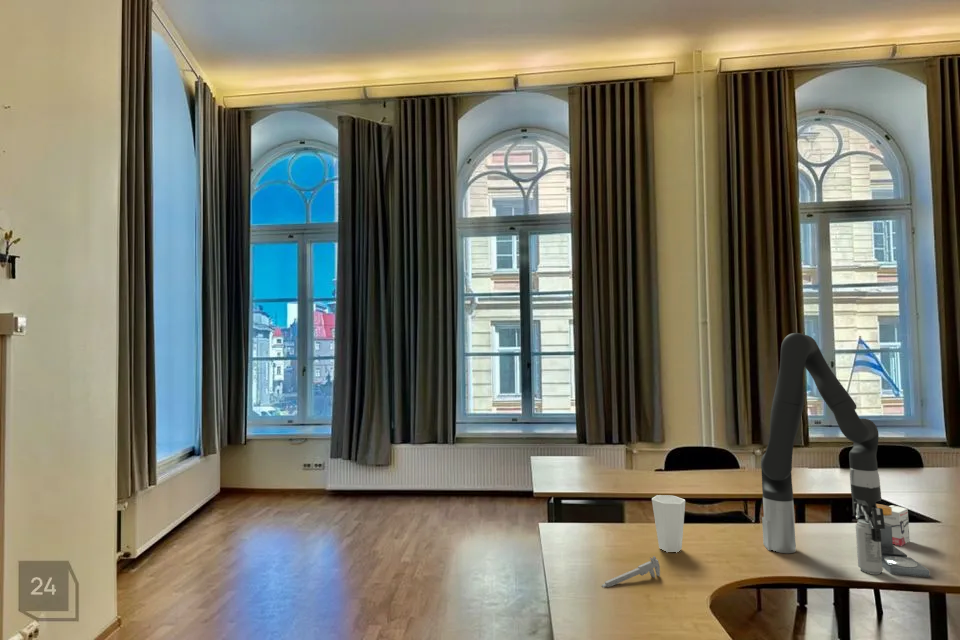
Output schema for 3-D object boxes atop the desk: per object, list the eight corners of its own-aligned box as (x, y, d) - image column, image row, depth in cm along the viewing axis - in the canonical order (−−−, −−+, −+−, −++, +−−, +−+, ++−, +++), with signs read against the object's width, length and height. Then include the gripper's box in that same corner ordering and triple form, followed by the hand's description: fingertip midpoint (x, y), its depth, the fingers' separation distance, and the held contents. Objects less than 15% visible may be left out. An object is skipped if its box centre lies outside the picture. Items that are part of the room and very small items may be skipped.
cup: (693, 552, 174) (691, 501, 175) (670, 557, 170) (668, 505, 171) (670, 541, 184) (668, 493, 185) (647, 545, 180) (646, 496, 181)
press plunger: (873, 536, 168) (871, 508, 169) (863, 529, 175) (861, 502, 176) (898, 538, 167) (896, 510, 167) (886, 531, 173) (885, 504, 174)
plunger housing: (871, 558, 167) (869, 527, 168) (857, 547, 177) (855, 518, 177) (907, 561, 164) (905, 529, 165) (891, 549, 174) (889, 520, 175)
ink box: (901, 546, 177) (899, 512, 178) (884, 542, 181) (881, 508, 182) (910, 541, 182) (908, 507, 182) (893, 537, 186) (891, 504, 186)
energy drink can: (874, 567, 160) (871, 518, 161) (887, 575, 154) (884, 524, 155) (853, 566, 161) (850, 518, 162) (866, 574, 155) (863, 524, 156)
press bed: (890, 573, 155) (890, 566, 155) (874, 561, 165) (874, 554, 165) (929, 577, 153) (929, 569, 153) (910, 563, 162) (910, 556, 163)
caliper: (657, 576, 156) (657, 555, 157) (660, 577, 155) (659, 556, 156) (601, 587, 149) (600, 565, 150) (603, 588, 148) (602, 566, 149)
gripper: (841, 477, 167) (845, 528, 166) (862, 488, 154) (867, 544, 152) (867, 478, 166) (871, 529, 164) (891, 489, 152) (896, 545, 151)
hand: (869, 536), depth 158 cm, fingers open, 8 cm apart
